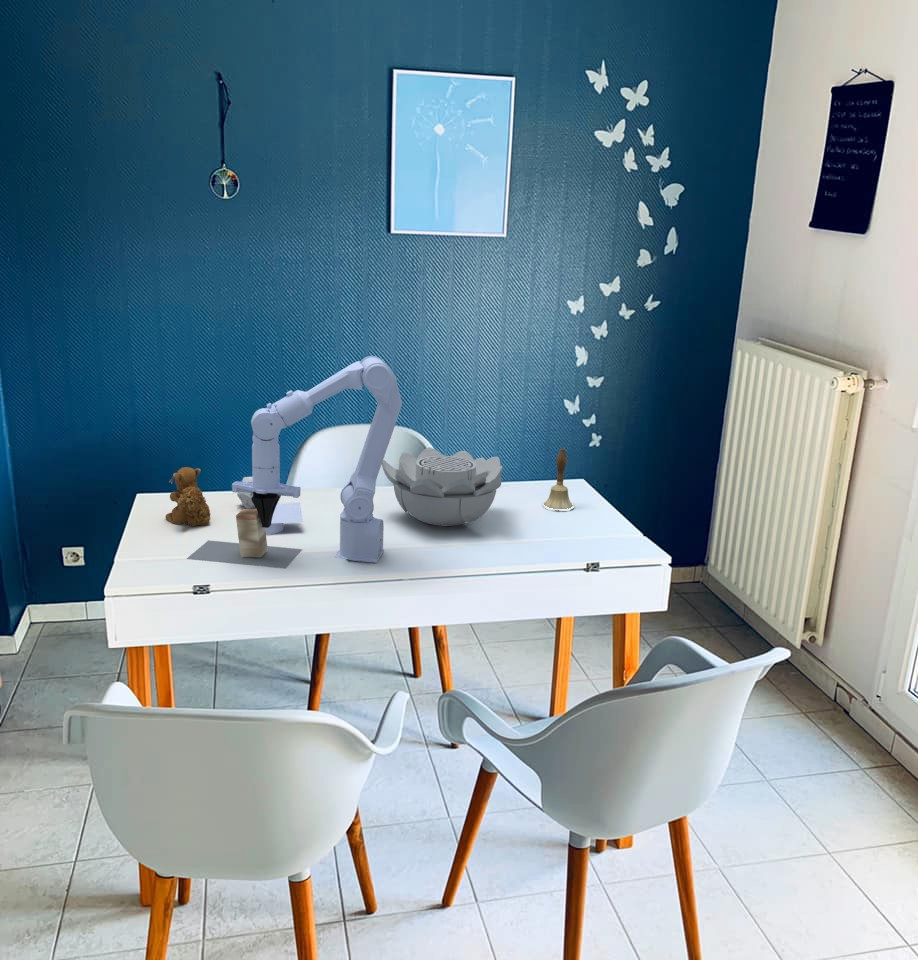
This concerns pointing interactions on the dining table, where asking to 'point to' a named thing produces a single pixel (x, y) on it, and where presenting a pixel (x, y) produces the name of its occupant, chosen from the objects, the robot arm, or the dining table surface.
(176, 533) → the dining table surface
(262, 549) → the maple block
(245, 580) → the dining table surface
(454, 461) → the decorative bowl
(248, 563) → the rubber mat
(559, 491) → the hand bell
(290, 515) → the wedge on round base
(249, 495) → the die
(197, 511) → the brown furry figure
